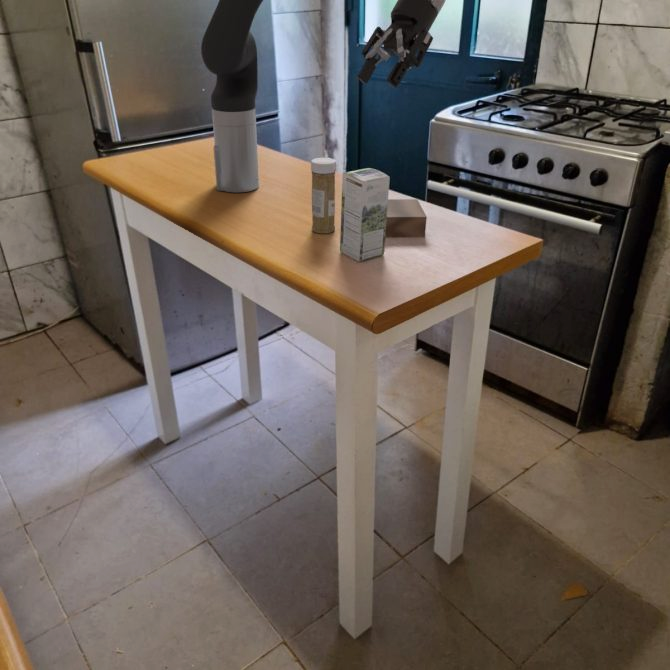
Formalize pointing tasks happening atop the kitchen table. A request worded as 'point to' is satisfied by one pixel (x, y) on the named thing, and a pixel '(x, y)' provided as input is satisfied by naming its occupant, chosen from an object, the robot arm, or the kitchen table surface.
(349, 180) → the syrup box
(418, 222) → the plinth
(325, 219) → the sprinkles bottle
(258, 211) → the kitchen table surface
